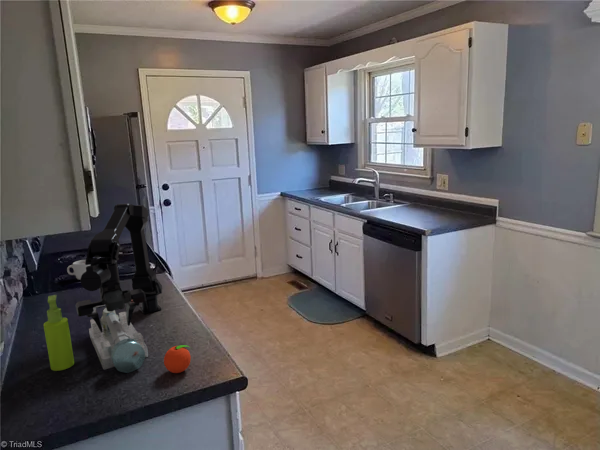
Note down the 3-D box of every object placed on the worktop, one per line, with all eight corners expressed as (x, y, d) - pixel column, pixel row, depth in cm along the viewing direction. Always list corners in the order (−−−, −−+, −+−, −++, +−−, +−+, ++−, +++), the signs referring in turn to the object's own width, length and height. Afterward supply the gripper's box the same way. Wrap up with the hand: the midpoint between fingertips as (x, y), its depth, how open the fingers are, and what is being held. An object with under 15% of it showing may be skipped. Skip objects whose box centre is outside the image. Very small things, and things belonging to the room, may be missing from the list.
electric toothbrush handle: (113, 343, 118) (97, 304, 137) (116, 364, 120) (99, 323, 140) (133, 337, 121) (115, 301, 140) (135, 358, 123) (117, 319, 142)
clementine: (188, 360, 121) (186, 337, 119) (200, 370, 115) (197, 345, 114) (161, 371, 116) (158, 346, 114) (171, 381, 111) (168, 355, 109)
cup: (66, 282, 196) (63, 265, 195) (71, 277, 204) (69, 261, 202) (91, 280, 198) (89, 263, 197) (95, 275, 206) (93, 258, 205)
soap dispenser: (74, 356, 126) (64, 291, 122) (74, 367, 120) (63, 299, 116) (51, 362, 123) (40, 295, 119) (50, 373, 117) (38, 303, 113)
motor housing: (90, 337, 138) (86, 313, 137) (129, 327, 145) (126, 304, 143) (107, 379, 113) (103, 351, 111) (154, 364, 119) (150, 338, 118)
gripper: (76, 294, 115) (85, 347, 118) (148, 279, 125) (153, 329, 128) (72, 283, 125) (79, 333, 128) (138, 270, 135) (144, 317, 138)
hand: (115, 328), depth 130 cm, fingers open, 7 cm apart
